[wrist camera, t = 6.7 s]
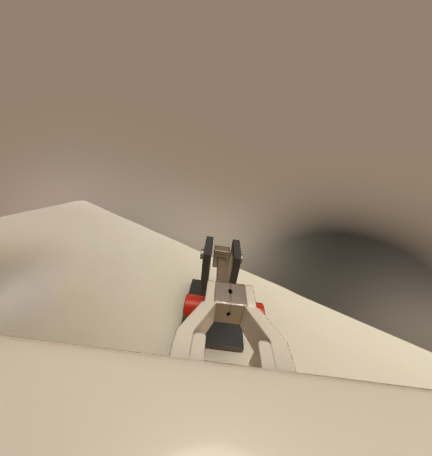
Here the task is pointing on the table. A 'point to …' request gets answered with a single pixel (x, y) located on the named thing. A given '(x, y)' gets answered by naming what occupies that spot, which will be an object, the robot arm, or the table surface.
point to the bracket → (218, 332)
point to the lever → (222, 265)
